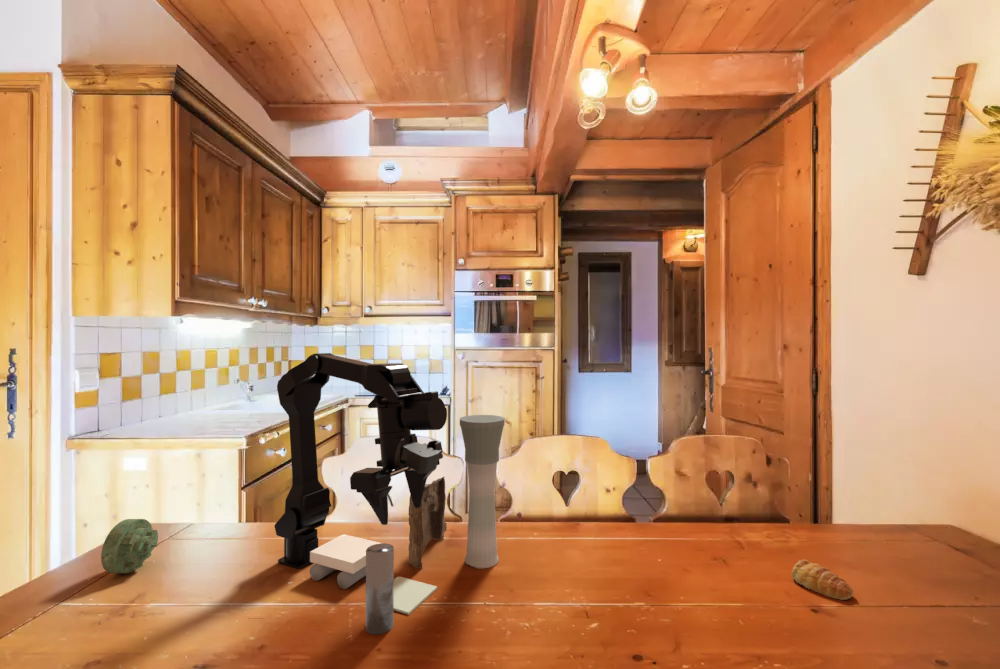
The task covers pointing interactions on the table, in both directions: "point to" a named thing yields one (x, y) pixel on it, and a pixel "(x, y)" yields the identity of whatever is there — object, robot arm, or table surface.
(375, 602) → the silver metal cylinder
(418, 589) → the mat
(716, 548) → the table surface
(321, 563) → the slab on rollers
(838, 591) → the pastry
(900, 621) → the table surface
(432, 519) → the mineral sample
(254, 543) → the table surface
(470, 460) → the container
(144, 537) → the decorative artifact
